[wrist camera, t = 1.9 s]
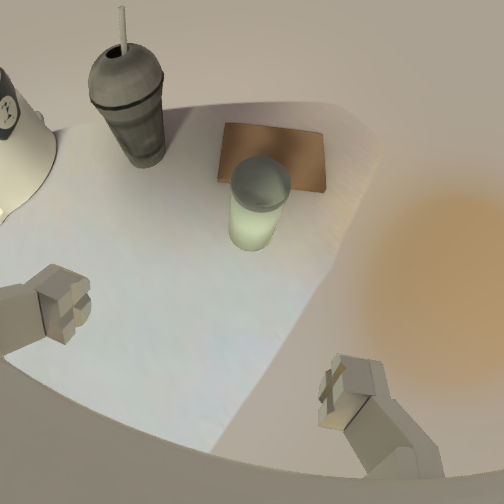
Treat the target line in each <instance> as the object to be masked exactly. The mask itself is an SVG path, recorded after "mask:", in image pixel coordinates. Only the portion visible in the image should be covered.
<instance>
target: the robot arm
mask: <svg viewBox="0 0 504 504" xmlns="http://www.w3.org/2000/svg"><path fill="white" fill-rule="evenodd" d="M55 154H56V140H55V137H54V134H53V133H52V132H51V131H50V130H49V129H48V128H47V127H46V126H45V124H44V118H43V116H42V114H41V113H40V112H39V111H36V112H34V110H33V109H32V108H31V107H30V105H29V104H28V103H27V101H26V100H25V99H24V98H23V96H22V95H21V94H20V93H19V92H18V90H17V89H15V88H14V86H13V84H12V83H11V81H10V78H9V76H8V75H7V74H6V73H5V72H4V70H3V69H2V68H0V225H1V223H2V222H3V221H4V220H5V218H6V217H7V216H8V214H10V213H11V212H12V211H13V210H15V209H16V208H18V207H19V206H21V205H22V204H23V203H25V202H26V201H27V200H28V199H29V198H30V197H31V196H32V195H33V194H34V193H35V192H36V191H37V190H38V188H39V187H40V186H41V184H42V183H43V181H44V180H45V178H46V177H47V175H48V173H49V171H50V169H51V167H52V164H53V162H54V158H55ZM89 290H90V280H89V279H88V278H87V277H84V276H82V275H80V274H77V273H75V272H73V271H70V270H68V269H66V268H63V267H60V266H58V265H56V264H50V265H49V266H47V267H46V268H45V269H43V270H42V271H41V272H39V273H38V274H37V275H35V276H34V277H33V278H31V279H30V280H29V281H28V282H26V283H25V284H24V285H23V284H21V283H20V284H16V285H11V286H7V287H2V288H0V504H504V469H503V470H498V471H492V472H486V473H480V474H472V475H465V476H455V477H445V475H444V471H443V466H442V462H441V457H440V453H439V449H438V446H437V445H436V444H435V443H434V442H433V441H432V440H431V439H430V437H429V436H428V435H427V434H426V433H425V432H424V431H423V430H422V429H421V427H420V426H419V425H418V424H417V423H416V422H415V421H414V420H413V419H412V418H411V417H410V415H409V414H408V413H407V412H406V411H405V410H404V409H403V408H402V407H401V406H400V405H399V403H398V402H397V401H396V400H395V399H391V397H390V393H389V388H388V384H387V380H386V376H385V371H384V367H383V364H382V362H381V361H376V360H370V359H363V358H358V357H353V356H348V355H343V354H339V353H337V354H336V355H335V356H334V358H333V360H332V361H331V369H330V370H328V371H326V372H325V374H324V376H323V378H322V380H321V384H320V387H319V393H318V399H319V401H320V402H321V403H322V405H321V407H320V408H319V410H318V420H319V421H318V426H319V427H324V428H329V429H335V430H341V431H343V433H344V435H345V436H346V438H347V440H348V441H349V443H350V445H351V447H352V448H353V450H354V452H355V453H356V455H357V457H358V458H359V460H360V462H361V463H362V465H363V467H364V468H365V470H366V472H367V475H366V476H365V477H364V478H362V479H358V478H344V477H332V476H322V475H313V474H306V473H299V472H292V471H286V470H280V469H274V468H269V467H264V466H259V465H254V464H249V463H245V462H240V461H236V460H232V459H227V458H224V457H220V456H216V455H212V454H209V453H205V452H202V451H198V450H195V449H192V448H188V447H185V446H182V445H179V444H176V443H173V442H170V441H167V440H164V439H161V438H158V437H156V436H153V435H150V434H148V433H145V432H142V431H140V430H137V429H135V428H132V427H130V426H127V425H125V424H123V423H120V422H118V421H116V420H113V419H111V418H109V417H107V416H104V415H102V414H100V413H98V412H96V411H94V410H91V409H89V408H87V407H85V406H83V405H81V404H79V403H77V402H75V401H73V400H71V399H69V398H68V397H66V396H64V395H62V394H60V393H58V392H56V391H55V390H53V389H51V388H49V387H48V386H46V385H44V384H42V383H41V382H39V381H37V380H36V379H34V378H32V377H31V376H29V375H27V374H26V373H24V372H23V371H21V370H19V369H18V368H16V367H15V366H13V365H12V364H10V363H9V362H7V361H6V360H5V359H4V355H6V354H8V353H11V352H13V351H15V350H18V349H20V348H22V347H24V346H27V345H29V344H31V343H33V342H36V341H38V340H40V339H42V338H45V337H46V336H47V337H49V338H51V339H53V340H55V341H58V342H60V343H62V344H64V345H66V344H67V342H68V341H69V340H70V339H71V338H72V337H73V335H74V334H75V328H76V327H79V326H82V325H83V324H84V323H85V322H86V320H87V319H88V316H89V314H90V310H91V299H90V298H89V296H88V294H87V292H88V291H89Z"/></svg>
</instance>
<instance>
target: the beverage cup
mask: <svg viewBox="0 0 504 504" xmlns="http://www.w3.org/2000/svg"><path fill="white" fill-rule="evenodd" d="M119 25H120V38H121V44H118V45H115V46H112V47H110V48H109V49H107V50H105V51H104V52H103V53H102V54H101V55H100V56H99V57H98V58H97V60H96V61H95V62H94V64H93V66H92V68H91V72H90V75H89V79H88V86H89V96H90V100H91V103H93V105H94V106H95V107H96V108H97V109H98V111H99V112H100V113H101V114H102V115H103V117H104V118H105V120H106V122H107V124H108V125H109V127H110V129H111V131H112V132H113V134H114V136H115V138H116V139H117V141H118V143H119V145H120V146H121V148H122V150H123V151H124V153H125V155H126V156H127V157H128V159H129V160H130V162H131V163H132V164H133V165H134V166H136V167H138V168H149V167H152V166H154V165H156V164H157V163H159V162H160V161H161V159H162V158H163V156H164V154H165V146H164V145H165V137H164V126H163V113H162V99H161V96H162V87H163V81H164V73H163V71H162V69H161V66H160V64H159V62H158V60H157V58H156V57H155V55H154V54H153V53H152V52H151V51H150V50H148V49H146V48H145V47H143V46H141V45H138V44H133V43H127V39H126V23H125V6H120V7H119Z"/></svg>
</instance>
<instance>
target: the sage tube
mask: <svg viewBox="0 0 504 504" xmlns="http://www.w3.org/2000/svg"><path fill="white" fill-rule="evenodd" d="M290 190H291V178H290V175H289V173H288V171H287V170H286V168H285V167H284V166H283V165H282V164H280V163H279V162H277V161H276V160H274V159H271V158H268V157H262V156H257V157H251V158H247V159H245V160H243V161H241V162H240V163H239V164H238V165H237V166H236V167H235V168H234V170H233V172H232V176H231V200H230V220H229V235H230V238H231V240H232V242H233V243H234V244H235V245H236V246H237V247H238V248H240V249H242V250H245V251H258V250H260V249H262V248H264V247H265V246H266V245H267V244H268V243H269V242H270V240H271V237H272V235H273V232H274V230H275V227H276V225H277V222H278V219H279V217H280V214H281V212H282V209H283V206H284V204H285V201H286V200H287V198H288V195H289V193H290Z"/></svg>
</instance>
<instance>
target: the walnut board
mask: <svg viewBox="0 0 504 504" xmlns="http://www.w3.org/2000/svg"><path fill="white" fill-rule="evenodd" d="M257 156H262V157H268V158H271V159H274V160H276V161H277V162H279V163H280V164H282V165H283V166H284V167H285V168H286V170H287V171H288V173H289V175H290V178H291V189H296V190H304V191H312V192H320V193H324V192H325V190H326V174H325V158H324V145H323V134H319V133H312V132H306V131H299V130H292V129H284V128H276V127H267V126H258V125H248V124H237V123H225V130H224V136H223V143H222V150H221V157H220V164H219V172H218V182H225V183H231V176H232V172H233V170H234V168H235V167H236V166H237V165H238V164H239V163H240V162H241V161H243V160H245V159H247V158H251V157H257Z"/></svg>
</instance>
